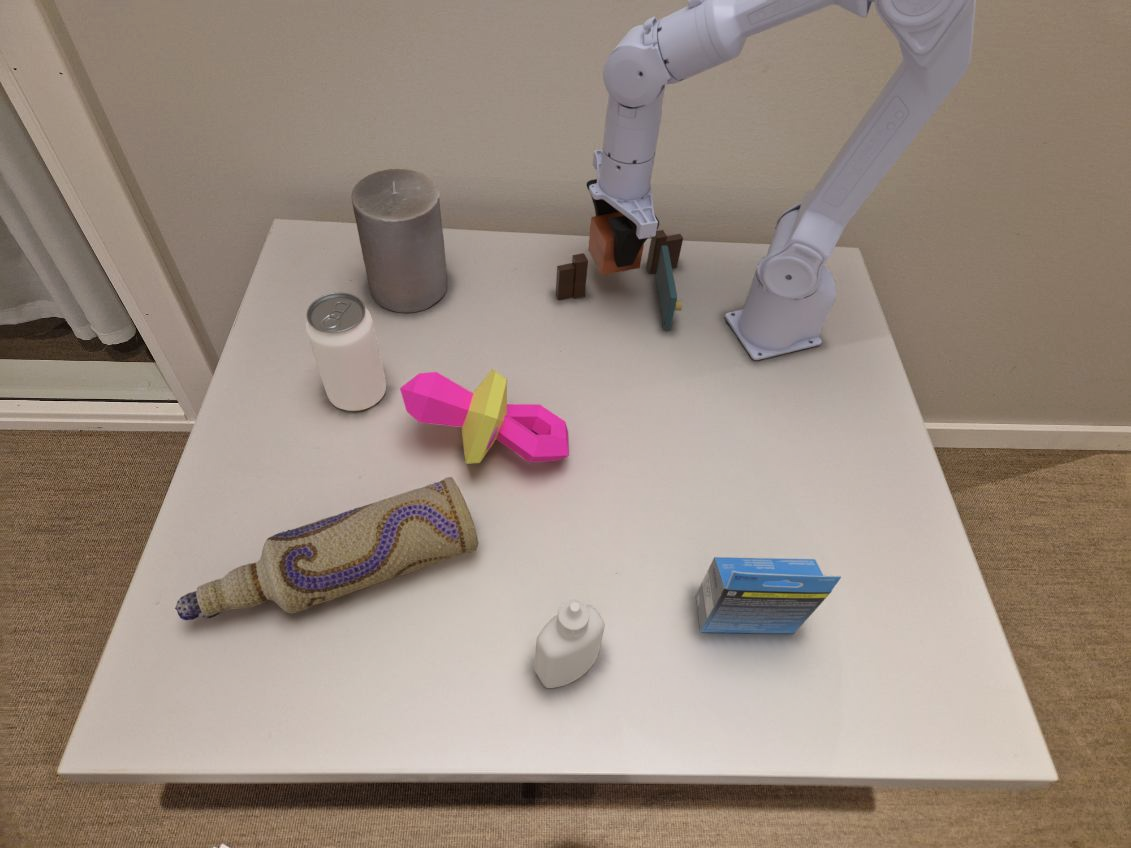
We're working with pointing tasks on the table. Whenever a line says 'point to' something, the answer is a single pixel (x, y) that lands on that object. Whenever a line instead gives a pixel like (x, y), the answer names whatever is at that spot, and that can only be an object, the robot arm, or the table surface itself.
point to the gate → (575, 273)
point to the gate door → (666, 288)
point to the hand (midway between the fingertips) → (615, 249)
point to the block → (606, 245)
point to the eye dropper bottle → (568, 644)
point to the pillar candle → (401, 238)
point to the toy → (487, 417)
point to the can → (346, 351)
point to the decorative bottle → (344, 553)
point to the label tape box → (760, 594)
